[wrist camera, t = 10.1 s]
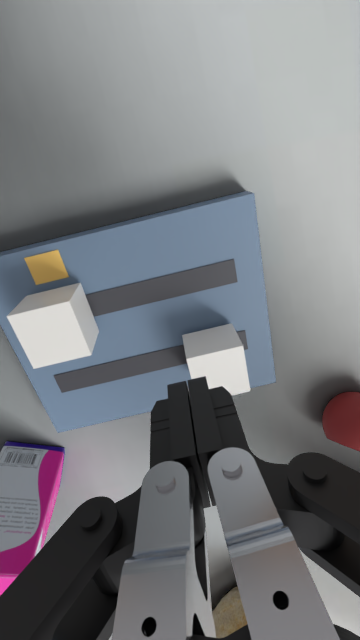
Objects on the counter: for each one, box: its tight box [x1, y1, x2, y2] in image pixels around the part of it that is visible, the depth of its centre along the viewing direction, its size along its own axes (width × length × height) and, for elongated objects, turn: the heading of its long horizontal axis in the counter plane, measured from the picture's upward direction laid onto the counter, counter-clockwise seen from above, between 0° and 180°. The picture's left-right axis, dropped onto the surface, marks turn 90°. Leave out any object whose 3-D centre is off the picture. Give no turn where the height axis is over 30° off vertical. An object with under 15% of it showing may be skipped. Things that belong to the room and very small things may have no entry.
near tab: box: [7, 283, 99, 369], centre depth 22 cm, size 4×4×4 cm
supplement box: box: [0, 441, 65, 596], centre depth 28 cm, size 6×6×12 cm
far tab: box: [182, 323, 250, 396], centre depth 25 cm, size 4×4×4 cm
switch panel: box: [0, 191, 276, 433], centre depth 26 cm, size 20×16×2 cm
